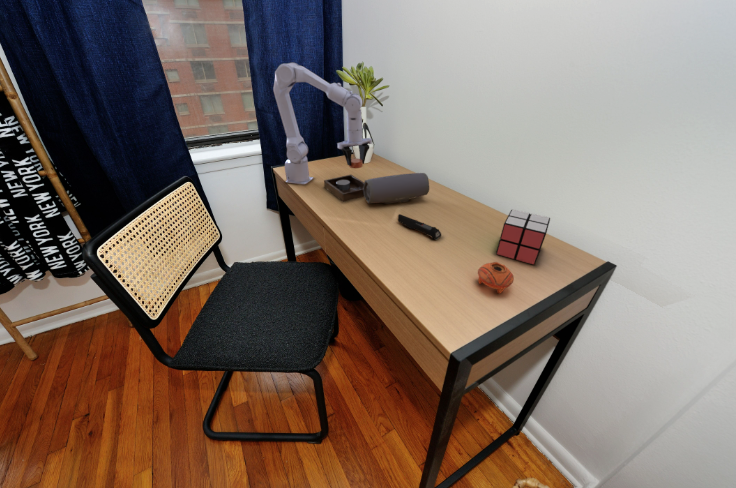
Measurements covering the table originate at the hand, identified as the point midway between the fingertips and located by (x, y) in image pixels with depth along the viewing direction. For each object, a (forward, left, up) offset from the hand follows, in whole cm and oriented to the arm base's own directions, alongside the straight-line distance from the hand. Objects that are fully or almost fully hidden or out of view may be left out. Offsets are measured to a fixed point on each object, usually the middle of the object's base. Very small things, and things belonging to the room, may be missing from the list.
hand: (355, 163), depth 126 cm
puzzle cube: (+61, -34, -9) cm, 71 cm away
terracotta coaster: (0, 0, -1) cm, 1 cm away
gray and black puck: (-3, -7, -8) cm, 11 cm away
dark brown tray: (0, -9, -8) cm, 13 cm away
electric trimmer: (+32, -31, -9) cm, 46 cm away
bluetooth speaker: (+20, -12, -9) cm, 25 cm away
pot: (+54, -52, -9) cm, 76 cm away
